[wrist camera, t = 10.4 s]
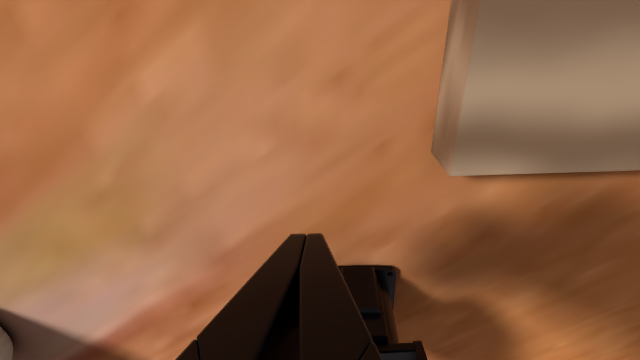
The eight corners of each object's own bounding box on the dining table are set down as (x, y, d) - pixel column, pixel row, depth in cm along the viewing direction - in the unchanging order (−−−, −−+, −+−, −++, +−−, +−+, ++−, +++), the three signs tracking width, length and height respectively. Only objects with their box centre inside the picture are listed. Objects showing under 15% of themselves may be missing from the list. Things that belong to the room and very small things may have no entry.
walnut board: (658, 143, 18) (726, 167, 14) (431, 152, 19) (449, 176, 16) (883, -273, 10) (1124, -407, 7) (480, -217, 11) (535, -312, 8)
